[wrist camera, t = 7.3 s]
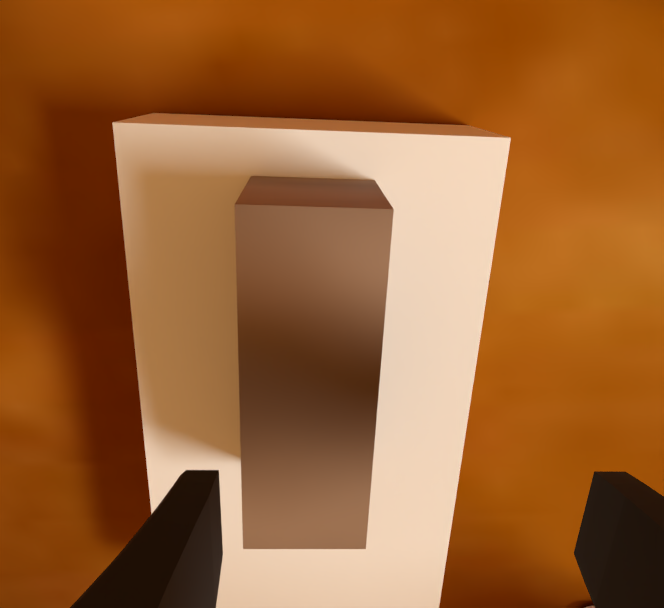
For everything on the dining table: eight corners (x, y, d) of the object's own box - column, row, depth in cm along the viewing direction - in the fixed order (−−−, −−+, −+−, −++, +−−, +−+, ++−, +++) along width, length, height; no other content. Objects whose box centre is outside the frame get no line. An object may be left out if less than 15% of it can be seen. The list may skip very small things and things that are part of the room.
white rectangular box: (415, 552, 25) (434, 636, 21) (185, 552, 24) (163, 638, 21) (469, 125, 18) (510, 137, 14) (153, 112, 18) (112, 122, 14)
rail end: (349, 412, 21) (365, 549, 15) (261, 411, 21) (243, 549, 15) (363, 163, 17) (393, 209, 11) (260, 159, 17) (234, 204, 11)
